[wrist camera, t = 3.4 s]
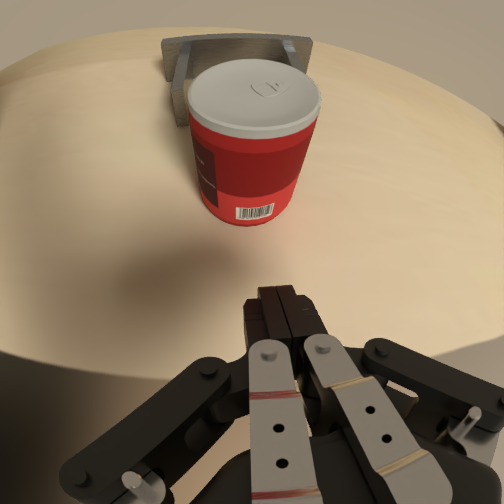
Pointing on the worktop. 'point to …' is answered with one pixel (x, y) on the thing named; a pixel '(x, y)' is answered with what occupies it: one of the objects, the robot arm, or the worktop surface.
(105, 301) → the worktop surface
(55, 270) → the worktop surface
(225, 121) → the canned food
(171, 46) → the keeper bracket
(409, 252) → the worktop surface
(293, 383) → the robot arm
